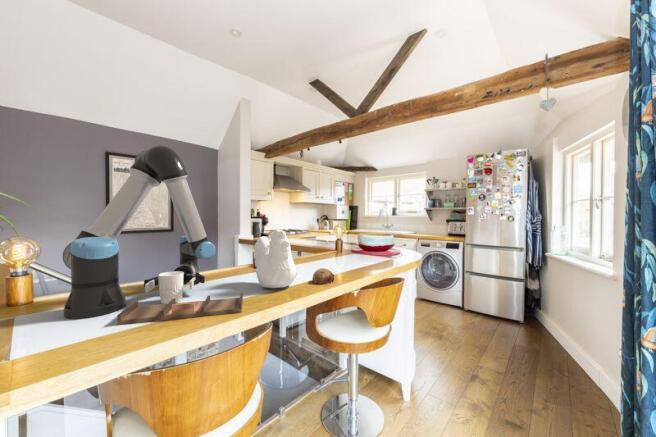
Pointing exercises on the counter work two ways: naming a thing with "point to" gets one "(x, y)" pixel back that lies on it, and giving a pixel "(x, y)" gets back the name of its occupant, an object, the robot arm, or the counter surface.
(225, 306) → the brown compartment tray
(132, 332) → the counter surface
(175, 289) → the white cup
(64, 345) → the counter surface
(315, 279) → the bread roll
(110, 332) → the counter surface
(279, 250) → the decorative rooster
